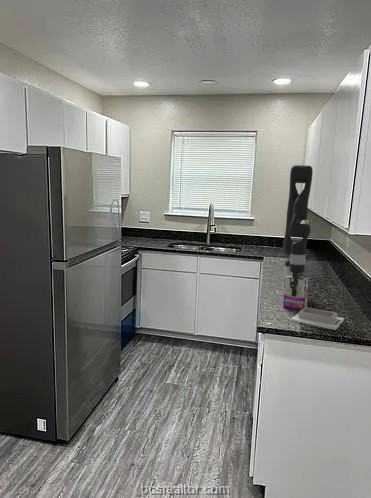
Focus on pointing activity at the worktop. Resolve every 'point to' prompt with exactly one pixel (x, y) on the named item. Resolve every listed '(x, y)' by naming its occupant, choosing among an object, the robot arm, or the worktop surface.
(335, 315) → the socket board
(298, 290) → the candy bar box
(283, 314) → the worktop surface
